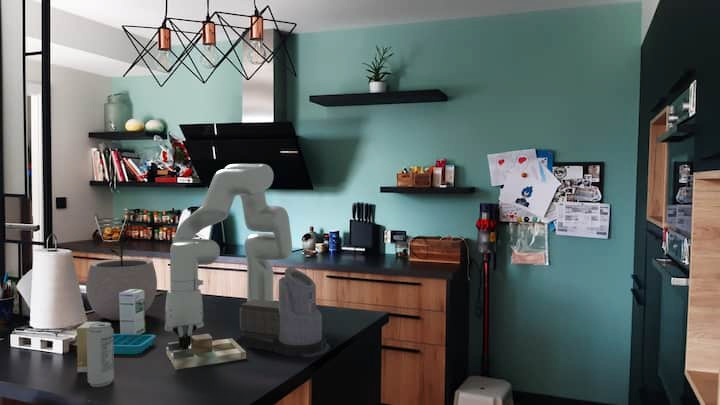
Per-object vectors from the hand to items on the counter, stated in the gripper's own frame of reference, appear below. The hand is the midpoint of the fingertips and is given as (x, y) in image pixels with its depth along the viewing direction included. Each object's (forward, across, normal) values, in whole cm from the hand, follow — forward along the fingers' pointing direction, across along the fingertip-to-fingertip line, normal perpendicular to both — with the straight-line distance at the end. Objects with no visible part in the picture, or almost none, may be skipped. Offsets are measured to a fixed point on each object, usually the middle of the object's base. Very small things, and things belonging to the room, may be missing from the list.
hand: (184, 349), depth 157 cm
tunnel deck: (+3, -6, 0) cm, 7 cm away
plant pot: (+3, +11, -57) cm, 58 cm away
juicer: (+3, -30, +1) cm, 30 cm away
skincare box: (+3, +24, -4) cm, 25 cm away
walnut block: (+1, -5, 0) cm, 5 cm away
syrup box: (+3, +10, -34) cm, 36 cm away
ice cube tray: (+4, +16, -20) cm, 26 cm away
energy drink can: (+3, +22, +9) cm, 24 cm away
